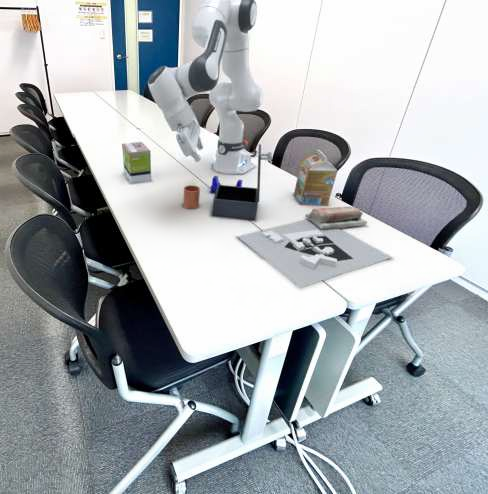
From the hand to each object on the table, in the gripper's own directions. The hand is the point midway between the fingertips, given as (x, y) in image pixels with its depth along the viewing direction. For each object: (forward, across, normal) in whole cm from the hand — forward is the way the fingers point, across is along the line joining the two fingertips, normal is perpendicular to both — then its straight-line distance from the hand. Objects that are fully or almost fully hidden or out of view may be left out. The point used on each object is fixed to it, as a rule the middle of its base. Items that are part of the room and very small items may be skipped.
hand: (200, 154), depth 117 cm
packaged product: (+43, -4, -32) cm, 54 cm away
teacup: (+18, +1, +13) cm, 22 cm away
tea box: (+8, +28, +40) cm, 49 cm away
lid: (+16, +2, -15) cm, 22 cm away
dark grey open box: (+26, 0, -2) cm, 26 cm away
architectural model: (+35, -23, -24) cm, 48 cm away
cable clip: (+27, +16, +3) cm, 31 cm away
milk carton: (+43, +15, -27) cm, 53 cm away
